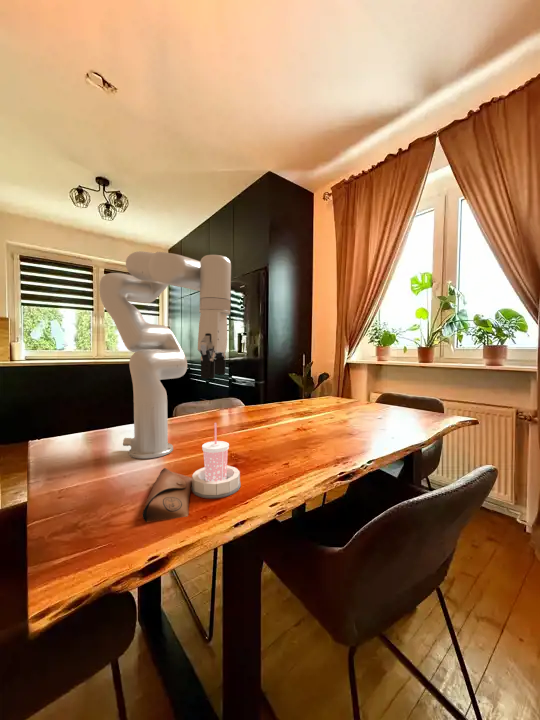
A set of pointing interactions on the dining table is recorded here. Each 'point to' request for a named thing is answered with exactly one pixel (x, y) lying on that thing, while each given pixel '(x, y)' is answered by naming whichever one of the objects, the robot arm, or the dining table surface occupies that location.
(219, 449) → the beverage cup
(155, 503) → the sunglasses case
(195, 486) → the cup holder ring
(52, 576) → the dining table surface
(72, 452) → the dining table surface
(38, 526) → the dining table surface
